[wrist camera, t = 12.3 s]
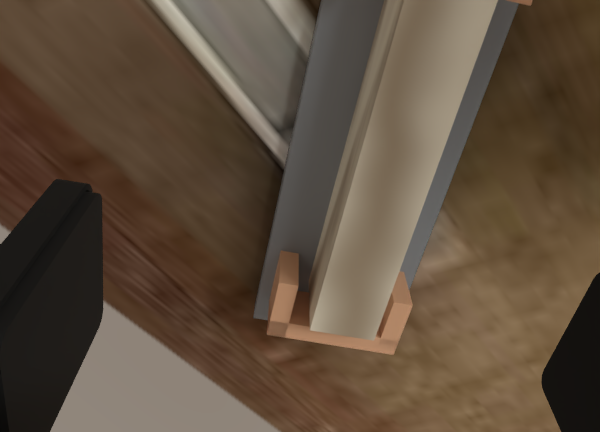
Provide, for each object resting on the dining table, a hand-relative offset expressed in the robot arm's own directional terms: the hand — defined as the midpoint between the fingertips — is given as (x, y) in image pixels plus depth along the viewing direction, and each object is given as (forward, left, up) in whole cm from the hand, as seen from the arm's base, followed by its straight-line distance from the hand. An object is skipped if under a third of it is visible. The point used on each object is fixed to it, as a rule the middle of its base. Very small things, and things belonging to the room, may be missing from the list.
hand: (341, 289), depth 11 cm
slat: (-5, +5, -23) cm, 24 cm away
